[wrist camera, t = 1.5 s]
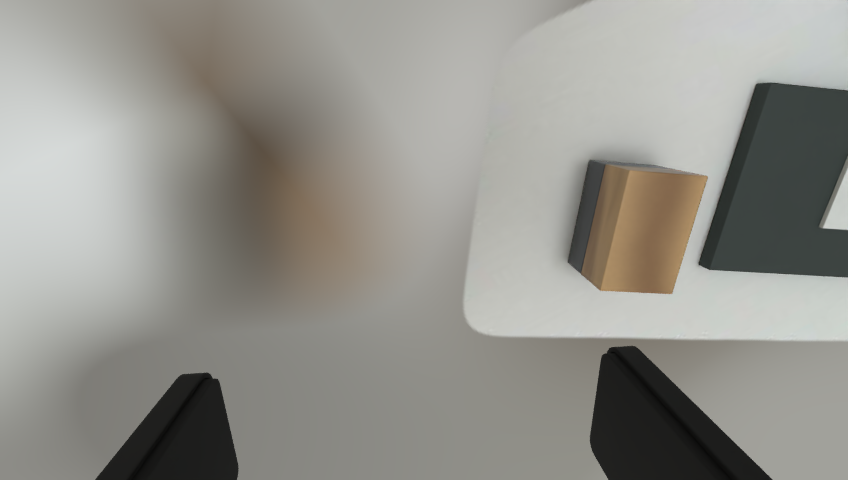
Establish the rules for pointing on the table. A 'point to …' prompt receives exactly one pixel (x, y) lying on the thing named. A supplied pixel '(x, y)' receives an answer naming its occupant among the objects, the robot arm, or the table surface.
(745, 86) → the table surface
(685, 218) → the eraser
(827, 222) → the white rectangular block
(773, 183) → the board
